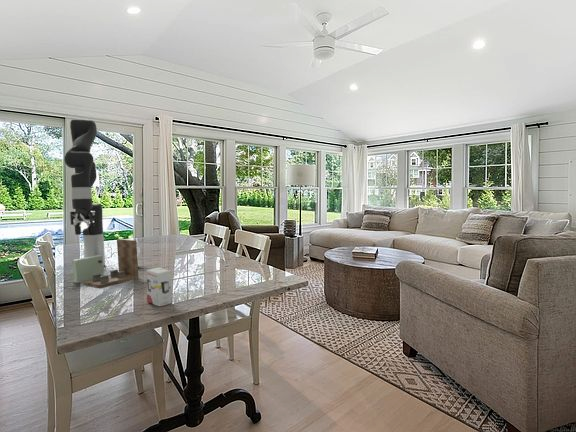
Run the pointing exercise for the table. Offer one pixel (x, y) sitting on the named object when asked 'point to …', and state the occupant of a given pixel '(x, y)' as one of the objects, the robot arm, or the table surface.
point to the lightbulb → (138, 251)
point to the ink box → (159, 286)
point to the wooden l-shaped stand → (125, 263)
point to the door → (87, 268)
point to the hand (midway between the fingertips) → (84, 234)
